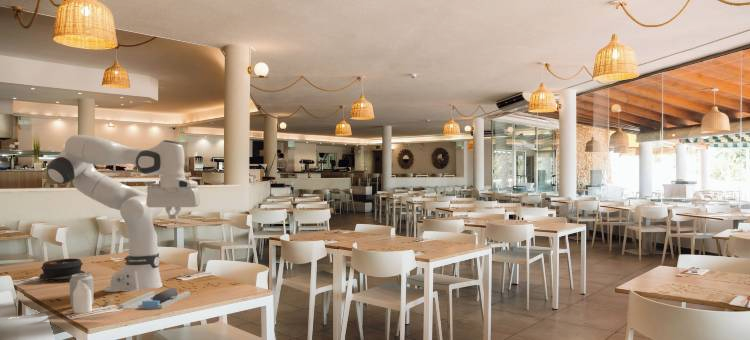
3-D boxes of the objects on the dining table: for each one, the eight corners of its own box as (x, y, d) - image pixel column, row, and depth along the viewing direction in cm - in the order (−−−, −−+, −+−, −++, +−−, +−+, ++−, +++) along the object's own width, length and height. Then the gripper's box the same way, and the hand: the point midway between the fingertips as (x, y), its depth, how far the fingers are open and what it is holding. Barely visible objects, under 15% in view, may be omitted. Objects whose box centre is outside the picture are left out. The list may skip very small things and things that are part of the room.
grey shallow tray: (119, 310, 181) (119, 301, 181) (151, 296, 201) (150, 288, 201) (162, 311, 179) (161, 301, 179) (189, 297, 199) (189, 288, 199)
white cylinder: (95, 278, 180) (80, 281, 175) (96, 312, 180) (81, 316, 175) (82, 277, 182) (68, 280, 177) (83, 311, 182) (69, 315, 177)
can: (76, 304, 192) (75, 272, 192) (97, 303, 192) (96, 271, 192) (66, 310, 184) (65, 276, 184) (88, 309, 185) (87, 275, 185)
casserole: (29, 279, 243) (28, 262, 243) (71, 272, 258) (71, 256, 258) (52, 285, 228) (52, 266, 228) (95, 277, 243) (95, 260, 243)
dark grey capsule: (158, 307, 183) (165, 299, 183) (150, 300, 184) (157, 291, 183) (173, 300, 193) (179, 292, 193) (165, 293, 194) (172, 285, 193)
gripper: (142, 183, 194) (143, 220, 194) (193, 182, 192) (194, 219, 192) (151, 183, 201) (152, 218, 201) (201, 182, 198) (202, 218, 198)
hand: (173, 219), depth 196 cm, fingers closed
